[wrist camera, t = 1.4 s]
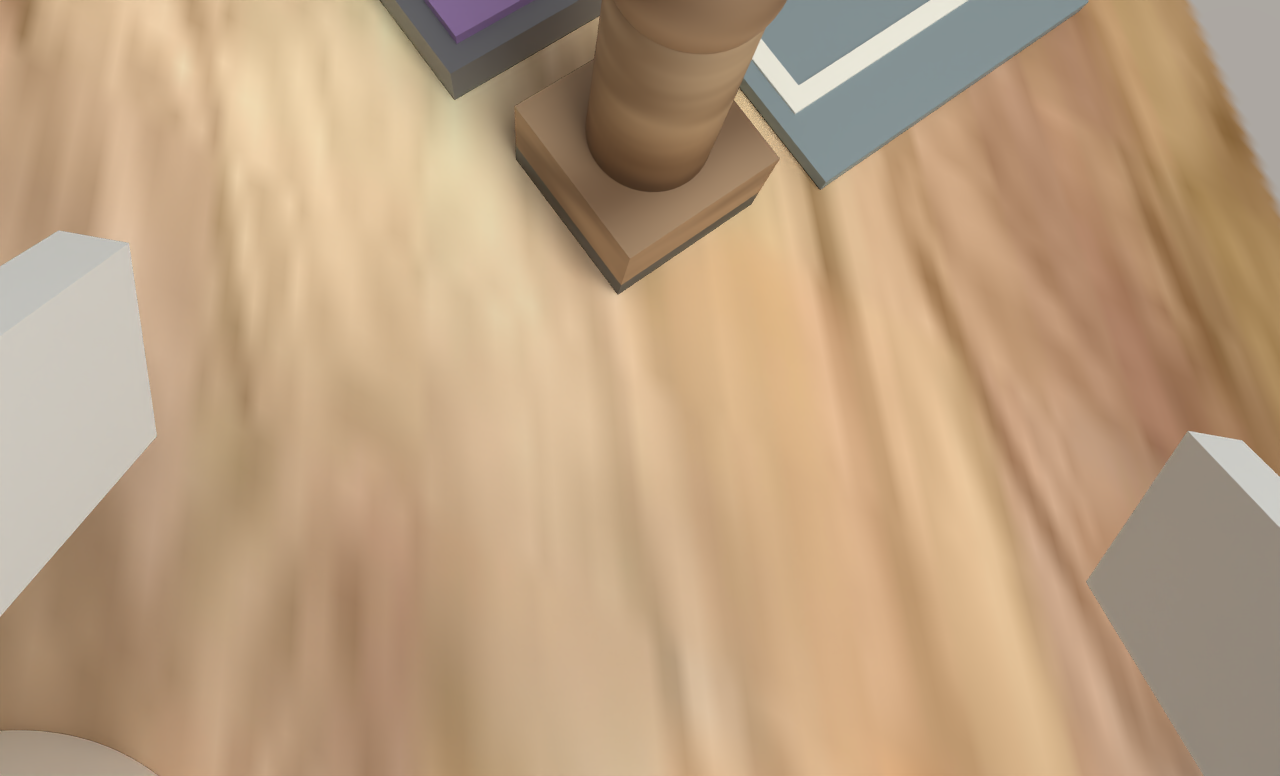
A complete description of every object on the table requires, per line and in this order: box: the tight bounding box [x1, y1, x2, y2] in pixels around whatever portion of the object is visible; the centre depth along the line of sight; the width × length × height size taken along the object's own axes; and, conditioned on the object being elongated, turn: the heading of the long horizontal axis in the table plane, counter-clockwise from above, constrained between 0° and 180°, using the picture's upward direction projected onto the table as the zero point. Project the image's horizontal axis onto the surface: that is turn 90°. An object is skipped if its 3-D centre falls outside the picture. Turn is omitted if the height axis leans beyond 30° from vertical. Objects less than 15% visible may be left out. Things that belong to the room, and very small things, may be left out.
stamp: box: [515, 0, 787, 294], centre depth 23 cm, size 6×6×14 cm
